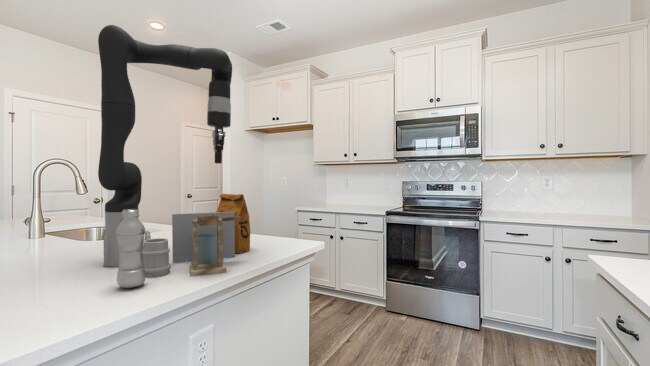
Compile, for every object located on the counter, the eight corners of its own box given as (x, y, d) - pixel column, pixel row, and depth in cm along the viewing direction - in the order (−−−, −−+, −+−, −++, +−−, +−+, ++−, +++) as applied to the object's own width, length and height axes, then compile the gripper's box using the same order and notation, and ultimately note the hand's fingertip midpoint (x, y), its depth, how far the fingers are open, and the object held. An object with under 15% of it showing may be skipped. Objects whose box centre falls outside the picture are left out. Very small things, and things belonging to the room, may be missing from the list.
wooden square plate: (199, 225, 90) (199, 216, 90) (197, 221, 102) (197, 213, 102) (246, 223, 95) (246, 214, 95) (239, 219, 107) (239, 211, 107)
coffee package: (236, 255, 116) (236, 194, 116) (212, 251, 122) (211, 193, 122) (254, 250, 125) (254, 193, 124) (231, 246, 131) (231, 192, 130)
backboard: (172, 262, 106) (172, 214, 106) (172, 261, 107) (172, 214, 107) (234, 256, 114) (234, 211, 114) (234, 256, 115) (234, 211, 115)
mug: (148, 279, 89) (147, 236, 89) (131, 271, 96) (130, 231, 96) (175, 273, 95) (175, 232, 94) (157, 266, 102) (157, 228, 102)
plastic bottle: (125, 293, 78) (124, 211, 78) (111, 288, 82) (110, 210, 82) (151, 285, 84) (150, 209, 83) (137, 281, 87) (136, 207, 87)
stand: (190, 276, 92) (189, 222, 91) (189, 269, 98) (189, 219, 98) (226, 272, 96) (226, 220, 95) (223, 266, 102) (223, 217, 102)
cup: (191, 268, 100) (191, 238, 100) (191, 261, 108) (191, 234, 108) (220, 265, 103) (220, 236, 103) (218, 258, 111) (218, 232, 111)
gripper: (206, 114, 113) (205, 163, 114) (208, 107, 101) (207, 162, 101) (228, 116, 116) (227, 164, 117) (233, 110, 104) (232, 163, 104)
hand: (218, 163), depth 109 cm, fingers closed
